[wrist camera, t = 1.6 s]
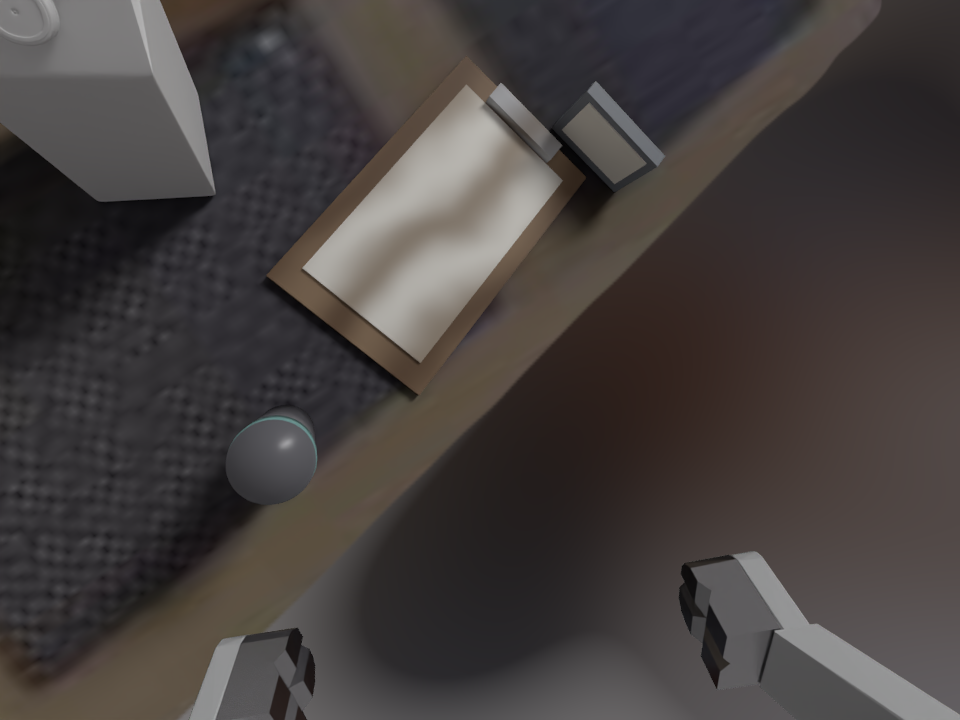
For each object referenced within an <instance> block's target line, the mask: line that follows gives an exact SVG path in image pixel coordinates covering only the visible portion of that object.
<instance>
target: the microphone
mask: <svg viewBox="0 0 960 720" xmlns="http://www.w3.org/2000/svg"><path fill="white" fill-rule="evenodd" d="M316 464H317V451H316V444H315V431H314V424H313V421H312V420H311V418H310V416H309V415H308V414H307V413H306V412H305V411H304V410H302V409H300V408H298V407H295V406H291V405H281V406H277V407H274V408H272V409H270V410H268V411H267V412H266V413H265V414H263V415H262V416H261V417H260V418H258V419H257V420H256V421H254V422H253V423H251V424H250V425H248V426H247V427H246V428H245V429H243V430H242V431H241V432H240V433H239V434H238V435H237V436H236V437H235V439H234V440H233V442H232V443H231V445H230V448H229V450H228V453H227V457H226V474H227V477H228V480H229V482H230V484H231V486H232V487H233V489H234V490H235V491H236V492H237V493H238V494H239V495H240V496H242V497H243V498H245V499H246V500H248V501H251V502H253V503H257V504H263V505H272V504H279V503H283V502H285V501H288V500H290V499H292V498H294V497H295V496H297V495H298V494H299V493H300V492H301V491H303V490H304V488H305V487H306V486H307V485H308V483H309V482H310V480H311V478H312V476H313V474H314V472H315V469H316Z"/></svg>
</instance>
